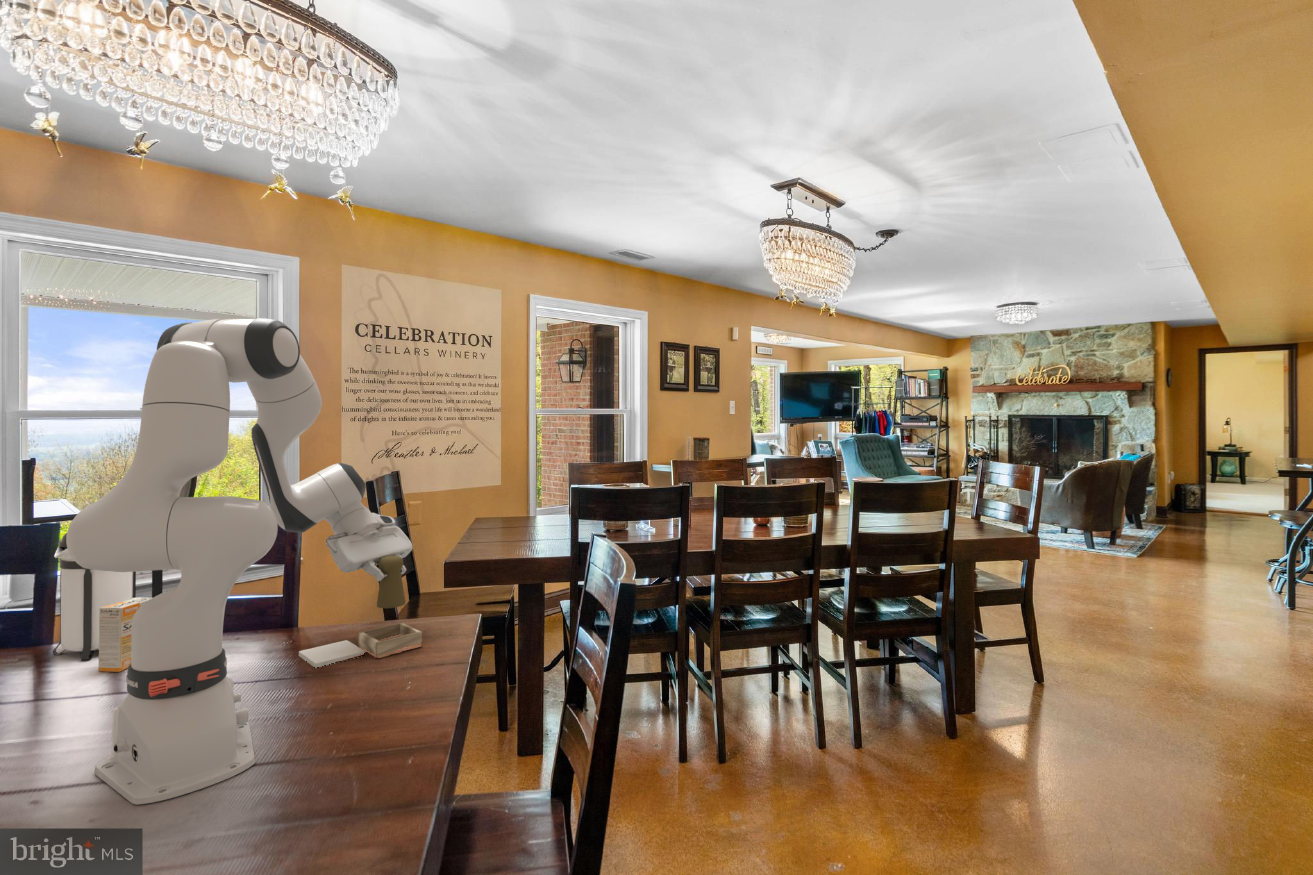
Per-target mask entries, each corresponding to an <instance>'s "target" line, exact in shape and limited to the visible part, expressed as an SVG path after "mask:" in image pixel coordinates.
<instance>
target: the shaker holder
mask: <svg viewBox="0 0 1313 875" xmlns="http://www.w3.org/2000/svg"><path fill="white" fill-rule="evenodd" d="M357 634H358V635H357V646H358V645H359V646H360V647H362V648H364V649H366V650H367V651H369V652H370V653H373V654H375V655H376V656H380V655H383V654H386V653H390V652H392V651H396V650H398V649H402V648H404V647H408V646H410V645H414V644H418V643H420V642H422V643H423V631H421V630H420V629H416V628H415V627H412V626H410V625H408V624H406V623H404V622H396V623H392V624H388V625H384V626H379V627H375V628H371V629H365V630H363V631H358V632H357ZM399 634H401V635H403V636H399V637H395V638H391V639H387V640H383V641H378V640H381V639H384V638H388V637H391V636H395V635H399Z"/></svg>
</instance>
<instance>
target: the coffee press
mask: <svg viewBox="0 0 1313 875" xmlns="http://www.w3.org/2000/svg"><path fill="white" fill-rule="evenodd" d="M66 537H67V532H66V533H65V534H63V536H62V538H61V540H59V541H58V546H57V548H56V550H55V553H54V555H53V557H54V558H55V559H57V558H59V569H60V574H59V575H60V579H59V580H60V584H59V587H60V590H59V593H60V594H59V603H60V604H59V605H60V606H59V624H60V625H59V643H57V646H55V648H54V649H53V650H52V654H53V655H54V656H59V655H61V654H63V653H64V652H65V651H69V652H81V655H80V661H81V662H84V661H91V660H92V657H93V654H94V652H95V651H96V650H97V651H99V615H100V607H104V606H108V605H112V604H115V603H118V602H122V601H125V600H129V599H132V598H137V597H136V596H137V594H136V592H137V588H136V587H137V585H136V584H137V579H136V578H137V571H136V572H114V571H102V570H94V569H86V568H83V567H81V566H80V565H79V564H77V563H76V562H75V560H74V559H73V558H72V557H71V555H70V553H69V551H68V548H67V543H66ZM163 571H164V570H152V571H151V598H154V597H155V596H157V595H159V594H161V593H163V588H164V587H163V582H164V581H163V574H164V572H163ZM60 645H61V647H62V648H63V649H64V650H62V651H61V652H58V651H57V649H58V647H60Z"/></svg>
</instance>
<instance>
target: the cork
mask: <svg viewBox="0 0 1313 875" xmlns="http://www.w3.org/2000/svg"><path fill="white" fill-rule="evenodd" d="M403 565H404V559H403V558H401V557H400V556H386V557H383V558H381V559H380V561H379V564H378V567H377V568H379V569H380V570H384V571H385V573H386V574H387V577H386V578H385V579H384V580H381V581H379V586H378V595H377V600H376V607H377V608H379V609H394V608H399V607H403V606H404V605H405V604H406V597H405V591H404V590H405V589H404V586H403V585H404V583H403V577H402V574H401V569H402V567H403Z"/></svg>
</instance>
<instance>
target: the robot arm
mask: <svg viewBox="0 0 1313 875" xmlns="http://www.w3.org/2000/svg"><path fill="white" fill-rule="evenodd" d="M299 343H300V342H299V340H298V338H297V335H296V334H295V333H294V331H293V330H292V329H291V328H290V327H288V326H287V325H286V324H285V323H284V322H282V321H280V320H277V319H273V318H267V317H266V318H265V317H258V318H254V319H249V318H248V319H247V318H213V319H207V320H202V321H197V322H196V321H195V322H192V321H189V322H188V321H186V322H182V323H178V324H175V325H173V326H170V327H168V328H167V329H165V330H164V331H163V332H162V333H161V335H160V337H159V339H158V341H157V345H156V351H155V353H154V355H153V357H152V360H151V362H150V366H149V369H148V373H147V375H146V380H145V383H144V384H145V385H144V389H143V395H142V396H143V397H142V404H141V405H142V406H141V416H140V427H139V434H138V439H137V445H136V449H135V450H136V451H135V453H134V457H133V460H132V462H131V464H130V466H129V467H128V469H127V471H126V472H125V474H124V476H123V477H122V478H121V479H120V481H119V482H118V483H117V484H116V485H115V486H114V487H113V488H111V489H110V491H108V492H107V493H106V494H105V495H103V496H102V497H100V498H99V499H97V500H96V501H94V502H91V503H90V504H89V505H87V506H85V507H84V508H83V509H81V510H80V511H79V512H78V513H76V515H75V517H74V518H73V519H72V521H71V522H70V524H69V526H68V528H67V531H66V533H67V537H66V543H67V548H68V551H69V553H70V555H71V557H72V558H73V559H74V560H75V562H76V563H77V564H79V565H80V566H81V567H83V568H86V569H94V570H102V571H114V572H136V573H137V572H149V571H151V572H152V570H163V571H164V570H165V571H166V570H178V571H179V570H180V581H179V584H178V585H177V586H175V587H172V588H170V589H168V590H166V591H162V593H161V594H159V595H157V596H155V597H154V598H152V597H151V598H152V599H150V600H148V601H147V602H145V603H144V604H143V605H142V606H140V607H139V609H138V610H137V611H136V613H135V614H134V616H133V619H132V622H131V664H130V665H129V666H128V668H127V672H126V673H127V674H126V676H125V677H126V678H125V682H126V691H127V692H126V693H128V694H127V695H126V697H125V698H124V699H123V700H122V702H120V704H119V705H117V706H116V708H114V710H113V714H112V730H111V748H110V749H111V751H110V756H107V757H106V758H104V759H102V760H101V761H100V762H97V764H96V765H95V768H94V774H95V775H96V776H97V777H98V778H99V779H101V780H102V781H103V782H105V783H106V784H107V785H108V786H110V787H111V788H112V789H113V790H115V791H116V792H117V793H118V794H120V795H121V796H122V797H124V799H125V800H127V801H129V802H130V803H131V804H133V805H145V804H150V803H157V802H162V801H165V800H169V799H172V798H177V797H180V796H183V795H186V794H189V793H192V792H196V791H198V790H201V789H205V788H207V787H210V786H213V785H216V784H217V783H220V782H223V781H225V780H227V779H230V778H232V777H234V776H236V775H239V774H240V773H242V772H244V771H246V770H248V769H249V768H251V767H252V766H253V765H255V763H256V760H255V759H256V758H255V751H254V746H253V740H252V739H253V737H252V733H251V732H252V731H251V726H250V725H251V724H250V722H249V707H247V706H245V707H240V708H237V709H236V708H235V703H236V704H237V703H239V702H240V703H241V700H242V694H241V692H236V693H234V679H232V678H231V677H228V671H227V665H228V661H227V660H228V658H227V656H226V650H225V648H223V634H224V633H223V631H224V618H225V610H226V605H227V600H228V598H229V595H230V593H231V591H232V589H233V587H234V585H235V584H236V582H237V581H238V579H239V578H240V577H241V576H242V575H243V574H244V573H245V571H247V570H248V569H249V568H250V567H252V566H253V564H255V563H256V562H258V561H260V560H261V559H262V558H263V557H264V556H266V555H267V553H269V551H270V550H271V549H272V547H273V546H274V544H275V541H276V539H277V536H278V531H279V530H278V528H279V527H280V528H281V529H282V531H285V532H289V533H300V534H301V533H306V532H307V531H308V530H309V529H311V528H313V527H314V526H316V525H317V524H318V523H320V522H322V521H323V520H324V521H326V522H327V523H328V524H329V525H330V528H331V531H332V533H333V534H331V535H329V536H327V537H326V539H325V545H326V547H327V548H328V550H329V552H330V555H331V558H332V559H333V562H334V563H335V564H336V566H337V568H338V569H339V570H340V571H341V572H343V573H345V574H348V573H351V572H355V571H359V570H363V571H364V573H365V572H366V573H367V574H369V575H371V576H372V577H374V578H375V579H376V581H377V582H380V581H381V580H384V579H385V578H386V577H387V574H386V573H385V571H384V570H380V569H379V567H377V565H378V564H379V561H380V559H381V558H383V557H386V556H400V557H401V558H402V559H403V558H406V557H407V556H408V555H409V554H410V553H411V552H412V551H413V549H414V548H413V543H412V542H411V540H410V539H409V537H408V536H407V535H406V534H405V532H404V531H403V530H402V529H401V528H400V527H399V526H397V525H395V524H396V520H395V519H394V518H393V517H392V516H388V515H383V514H379V513H376V512H371V510H370V509H369V508H368V507H366V506H365V505H364V504H363V503H362V500H363V499H364V497H365V493H366V490H367V485H366V482H365V481H364V480H363V478H362V477H361V476H360V474H359V473H358V472H357V470H356V469H355V468H354V466H352V465H349V464H347V463H342V462H337V463H334V464H331V465H329V466H327V467H325V468H324V469H321V470H319V471H318V472H317V471H316V473H314V474H312V475H311V476H308V477H306V478H304V479H302V480H301V481H298V482H296V483H294V484H291V481H290V477H289V475H288V470H287V467H286V463H285V456H286V453H287V452H288V450H289V448H290V447H291V446H292V444H293V443H294V442H295V441H296V440H297V439H298V438H299V437H300V436H301V435H302V434H303V433H305V432H306V431H307V430H308V429H309V428H311V426H313V424H314V423H315V422H316V420H317V419H318V418H319V415H320V413H321V411H322V406H323V400H322V395H321V392H320V389H319V386H318V384H317V382H316V380H315V378H314V376H313V373H312V372H311V370H310V368H309V366H308V365H307V363H306V361H305V360H304V358H303V356H302V355H301V348H300V344H299ZM245 382H246V384H247V386H248V389H249V390H250V393H251V395H252V396H253V398H254V400H255V402H256V405H257V419H256V420H257V421H256V423H255V424H254V425H253V426H252V428H251V440H252V444H253V448H254V452H255V456H256V459H257V462H258V465H259V468H260V472H261V475H262V479H263V482H264V486H265V488H266V491H267V496H268V500H269V504H270V506H269V505H268V504H267V503H266V502H265V501H264V500H259V499H252V498H247V497H240V496H232V495H231V496H229V495H228V496H225V495H224V496H188V497H187V496H185V497H183V496H180V495H181V491H182V489H184V488H183V487H184V486H185V485H186V484H187V483H188V482H189V481H190V480H191V479H194V478H195V477H197V476H201V475H203V474H205V473H207V472H211V470H214V469H215V468H217V467H218V466H220V465H221V464H222V463H223V461H225V459H226V458H227V455H228V451H229V448H228V447H229V432H230V430H229V429H230V411H231V410H230V409H231V393H230V392H231V391H230V390H231V389H230V383H233V384H234V383H245ZM406 571H407V568H406V566H405V565H404V564H403V567H402V569H401V575H404V574H405V573H406Z"/></svg>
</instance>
